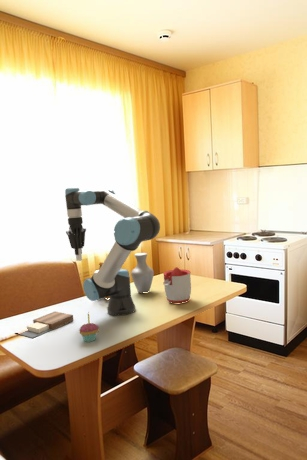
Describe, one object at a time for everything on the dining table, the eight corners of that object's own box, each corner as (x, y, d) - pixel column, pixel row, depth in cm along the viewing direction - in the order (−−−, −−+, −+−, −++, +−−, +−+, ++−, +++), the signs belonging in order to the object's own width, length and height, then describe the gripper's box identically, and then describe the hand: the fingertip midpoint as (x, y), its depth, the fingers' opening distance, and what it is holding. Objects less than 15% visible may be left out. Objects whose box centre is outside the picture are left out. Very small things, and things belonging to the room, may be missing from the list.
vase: (129, 292, 233) (126, 254, 231) (149, 288, 239) (146, 251, 237) (137, 297, 220) (134, 257, 218) (158, 293, 226) (156, 253, 224)
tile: (49, 328, 176) (48, 324, 176) (39, 333, 171) (38, 329, 171) (37, 325, 181) (37, 322, 181) (27, 330, 176) (26, 326, 176)
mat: (51, 330, 175) (51, 329, 175) (32, 338, 166) (32, 337, 166) (33, 325, 183) (33, 324, 183) (14, 333, 174) (14, 332, 174)
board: (73, 320, 187) (72, 314, 186) (51, 330, 175) (51, 324, 175) (55, 316, 195) (55, 311, 194) (33, 325, 183) (33, 319, 183)
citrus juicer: (157, 303, 206) (154, 268, 204) (178, 295, 217) (176, 263, 215) (176, 308, 194) (174, 272, 192) (198, 300, 205) (196, 266, 203)
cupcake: (81, 336, 164) (79, 311, 163) (100, 334, 165) (98, 309, 164) (79, 344, 156) (76, 317, 155) (99, 342, 156) (96, 315, 155)
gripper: (78, 216, 200) (82, 258, 202) (60, 218, 189) (65, 262, 192) (88, 215, 196) (92, 258, 198) (70, 218, 185) (75, 263, 187)
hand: (79, 260), depth 195 cm, fingers closed
